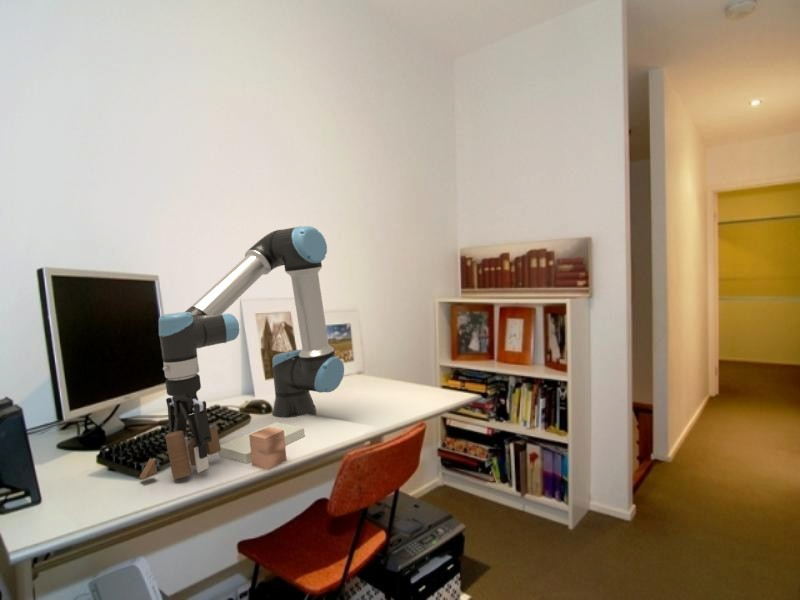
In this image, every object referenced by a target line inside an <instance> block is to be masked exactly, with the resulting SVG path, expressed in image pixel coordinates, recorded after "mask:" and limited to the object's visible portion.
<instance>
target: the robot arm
mask: <svg viewBox="0 0 800 600" xmlns="http://www.w3.org/2000/svg"><path fill="white" fill-rule="evenodd" d="M252 245H253V246H251V247H250V248H249V249H248V250H246V251H245V254H244V258H243V259H242V260H240V261H239V263H237V264H236V265H235V266H234V267H233V268H231V270H230V271H229V272H228V273H226V274H225V275H224V276H223V277H221V279H219V281H217V283H215V284H214V285H213V286H212V287H211V288H210V289H209V290H207V291H206V292H205V294H203V295H202V296H201V297H200V298H199V299H198V300H196V301H195V303H193V304H192V305H191V306H190V307H189V308H187V309H186V310H185V311H183V312H173V313H167V314H165V313H164V314H162V315H161V316H159V318H158V336H159V341H160V342H159V343H160V349H161V357H162V363H163V367H162V371H164V377H165V378H166V380H165V388H166V394H167V395H168V396H170V397H167V398H165V402H166V405H167V416H168V417H167V418H168V434H169V433H171V432H175V431H183V432H184V438H185V443H186V448H187V453H188V445H189V444H190V443H189V437H188V435H189V434H188V432H186V430H187V424H188V425H189V429H190V431H191V434H192V439H193V438H194V441H195V444H196V445H193V447H194V454H195V462H196V466H195V469H196V473H198V474H199V473H201V472H204V471H205V470H208V469H210V468H209V466H210V465H209V457H208V454H207V447H206V443H208V442H210V441H212V438H211V433H210V423H209V420H208V413H207V402H206V400H204V401H199V398H198V395H197V393H198V391H200V390H201V388H202V385H201V378H200V375H199V374H198V373H199V372H200V369H199V368H200V366H199V359H198V349H201V348H205V347H210V346H215V345H219V344H226V343H228V342H232V341H235V340H237V338H238V336H239V335H240V322H239V321H238V319H237V318H236V316H235V315H234V314H232V313H225V312H226V311H227V310H228V309H229V308H230V307H231V306H232V305H233V304H234V303H235V302H236V301H237V300H238V299H239V298H240V297H241V296H242V295H243V294H244V293H246V291H248V289H249V288H250V287H252V286H253V285H254V283H256V282H257V281H258V279H260V278H261V276H264V275H268V274H269V273H270V272H271V271H273V270H274V269H277V268H278V267H283V266H284V272H285V273H286V274H288V275H289V276H290V278H291V284H292V290H293V297H294V298H293V299H294V305H295V309H296V315H297V317H296V318H297V324H298V329H299V336H300V341H301V349H295V350H291V351H290V350H289V351H285V352H281V353H277V354H275V355H273V357H272V366H271V367H272V368H271V369H272V376H273V384H274V385H273V386H274V393H275V394H274V395H275V398H274V402H273V409H272V412H271V416H273V417H275V418H279V419H280V418H283V419H288V418H296V417H297V418H298V417H301V416H306V415H310V416H316V415H317V407H316V405H315V404H314V400H313V398H312V396H311V393H310V392H316V393H331V392H334V391H335V390H336V389H338V387H339V386H340V385H341V382H342V381H343V379H344V375H345V365H344V362H343V361H342V360H341V358H340V357H338V356H336V355H335V348H334V347H333V346H332V345H330V344H329V339H328V332H327V325H326V317H325V312H324V311H325V310H324V305H323V298H322V297H323V296H322V292H321V291H322V290H321V282H320V278H319V272H320V271H321V269H322V268H323V265H322V261H324V260H325V258H326V257H327V256H326V255H327V253H328V246H327V245H328V244H327V242H326V239H325V237H324V235H323V234H322V233H321V232H320V231H319V229H318V228H315V227H314V226H310V225H309V226H308V225H307V226H306V225H305V226H304V225H303V226H301V225H300V226H296V227H290V228H284V229H277V230H274V231H272V232H269V233H267V234H266V235H265V236H263V237H262V238H261V239H260V240H258V241H257V242H256V243H254V244H252ZM188 458H189V453H188ZM189 463H190V458H189Z"/></svg>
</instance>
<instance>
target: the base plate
mask: <svg viewBox="0 0 800 600" xmlns="http://www.w3.org/2000/svg"><path fill="white" fill-rule="evenodd" d="M267 427H271V428H276V429H281V430H284V437H285V446H287V445H289V444H292V443H293V442H295V441H297V440H299V439H301V438H304V437H305V436H306V435H305V427H301V426H297V425H292V424H287V423H282V422H278V421H276V422H273V423H271V424H269V425H267V426H264V427H262V428H258V429H257V430H254V431H252V432H250V433H246V434H245V435H242V436H239V437H237V438H235V439H232V440H229V441H227V442H225V443H223V444H220V448H221V451H219V452H218V455H219V456H220V457H223V458H227V459H230V460H235V461H237V462H241V463H243V464H250V463H252V459H251V448H250V437H249V435H250V434H252V433H255V432H257V431H260V430H262V429H264V428H267Z"/></svg>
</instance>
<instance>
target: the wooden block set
mask: <svg viewBox="0 0 800 600" xmlns="http://www.w3.org/2000/svg"><path fill="white" fill-rule="evenodd" d="M209 428H210V433H211V438H212V441H210V442H208V443H206V447H207V456H208V455H209V456H212V455H213V454H216V453H219V451H221V448H220V445H221V443H220V438H219V434H218V429H217V427H210V426H209ZM184 437H185V436H184V432H183V431H175V432H171V433H169V432H168V433H167V434H165V436H164V438H165V439H164V440H165V442H166V449H167V454H168V459H169V465H170V469H171V474H172V478H173V479H175V480H176V479H178V480H179V479H182V478H185V477H187V476H189V475H191V473H192V470H191V466H193V467H196V462H195V454H194V447H193V445H196V444H195V441H194V438H193V437H192V439H191V440H190V442H189V443H188V444H189V445H188V453H189V458H190V462H189V458H188V453H187V448H186V443H185V438H184ZM156 475H158V468H157V464H156V459H152V458H149V459H148V461H147V463H146V464H145V466H144V468H143V470H142V472H141V473H140V475H139V476H138V477H139V479H142V480H146V479H148V478H150V477H153V476H156Z"/></svg>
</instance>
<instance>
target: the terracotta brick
mask: <svg viewBox="0 0 800 600" xmlns="http://www.w3.org/2000/svg"><path fill="white" fill-rule="evenodd" d="M263 428H264V427H263ZM249 437H250V448H251V459H252V462H251V465H252V467H256V468H259V469H262V470H265V471H269V470H270V469H272V468H274V467H277V466H279V465H280V464H282V463H284V462H286V461H287V451H286V445H285V437H284V430H281V429H276V428H271V427H267V428H264V429H262V430H260V431H257V432H255V433H252V434H250V435H249Z"/></svg>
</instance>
